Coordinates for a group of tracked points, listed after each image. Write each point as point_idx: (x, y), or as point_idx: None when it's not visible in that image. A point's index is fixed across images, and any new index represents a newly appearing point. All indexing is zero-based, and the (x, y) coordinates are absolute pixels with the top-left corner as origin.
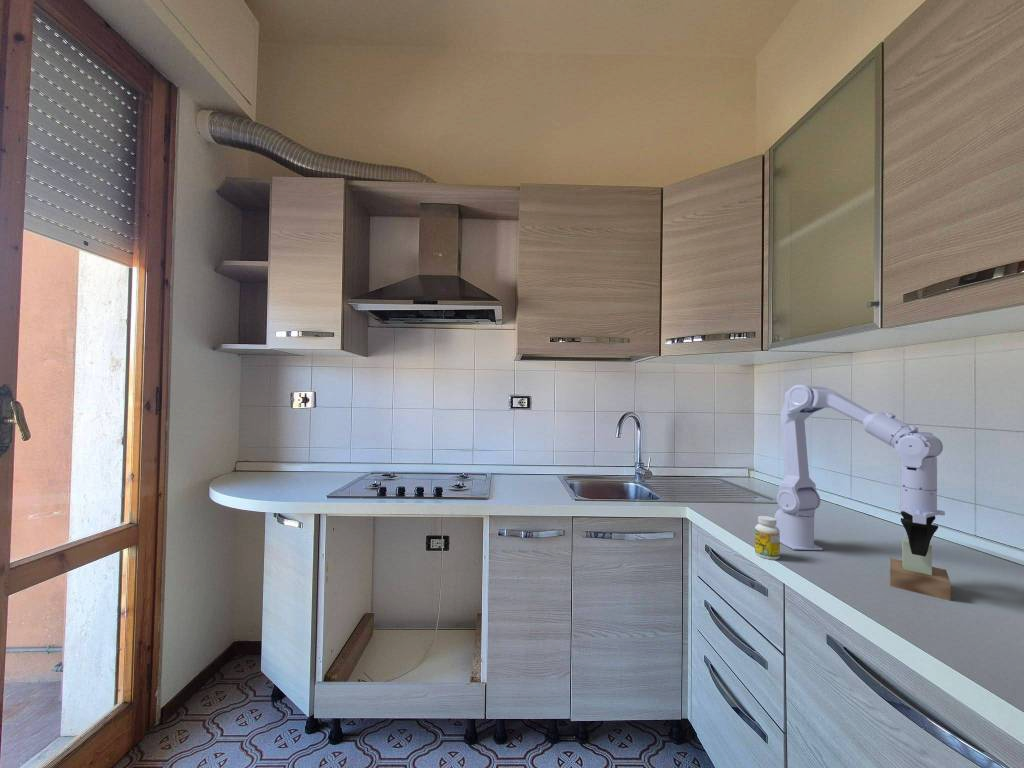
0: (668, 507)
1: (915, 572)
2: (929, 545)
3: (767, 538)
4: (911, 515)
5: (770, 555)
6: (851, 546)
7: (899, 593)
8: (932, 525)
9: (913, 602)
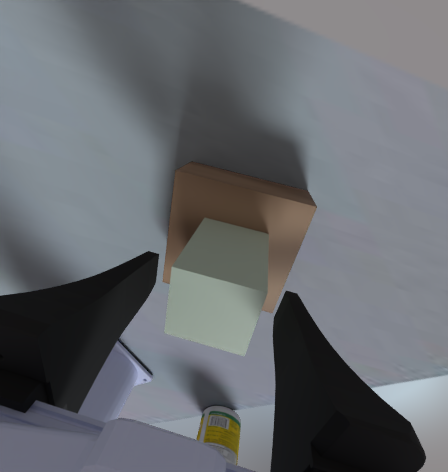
0: None
1: None
2: (255, 294)
3: None
4: (66, 402)
5: (239, 426)
6: (26, 276)
7: (312, 282)
8: (374, 452)
9: (360, 274)
